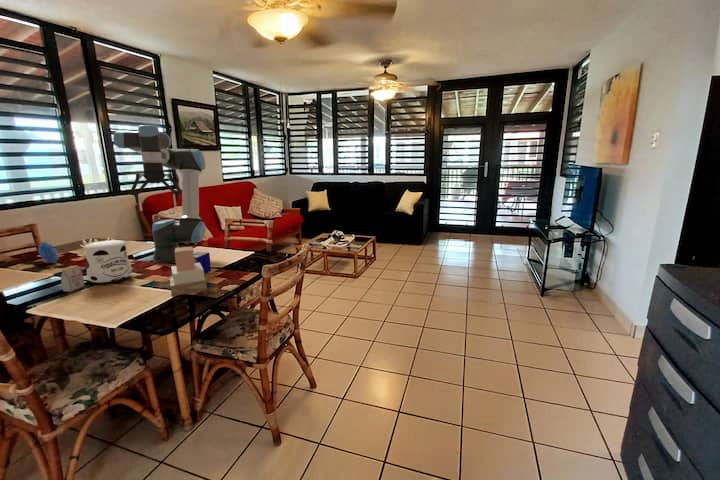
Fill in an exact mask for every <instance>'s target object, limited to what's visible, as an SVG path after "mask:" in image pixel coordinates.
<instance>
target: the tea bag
mask: <svg viewBox="0 0 720 480" xmlns="http://www.w3.org/2000/svg"><path fill="white" fill-rule="evenodd" d="M60 281H61V286H62V287H61V288H62V290H63V291H62V292H66V293H67V292H69V293H70V292H75V291H76V290H79V289H82V288H84V287H85V286H86V285H85V280H84V274H83V272H82V270H81V269H80V268H79V266H78V265H73V266H71V267H68V268H67V267H66V268H65V269H62V272H61V276H60Z"/></svg>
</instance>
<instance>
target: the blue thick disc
mask: <svg viewBox="0 0 720 480" xmlns="http://www.w3.org/2000/svg"><path fill="white" fill-rule="evenodd" d="M53 247H54V245H53V244H51V243H48V242H45V241H43V242H41V243H40V244H39V245H38V253H39V256H40V257H41V259H42V260H45V261H46V263H48V264H56V263H57V262H58V259H59V255H58V254H57V253H58V250H57V249H56V248H53Z"/></svg>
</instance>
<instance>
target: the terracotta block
mask: <svg viewBox="0 0 720 480" xmlns="http://www.w3.org/2000/svg"><path fill="white" fill-rule="evenodd" d="M193 251H194V246H182V247H179V248H175V260H176V262H175V266H176V268H177V272H178V271H187V270H195V262H194V253H193Z"/></svg>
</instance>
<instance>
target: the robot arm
mask: <svg viewBox="0 0 720 480" xmlns="http://www.w3.org/2000/svg"><path fill="white" fill-rule="evenodd" d="M137 129H138V131H130V130H129V131H127V130H121V131H120V130H118V131H115V132H114V133H113V143H114V145H115V146H116V148H119V149H124V150H125V149H128V150H132V151H134V152H136V153H138V154H140V155H141V159H142V162H143V163H142V165H143V167H142V168H143V173H138V172H136V174H135V180H134V182H133V184H132V187H131V189H130V191H129V195H131V196H134V198H135V203H136V204H138V206H139V211H140V212H143V203H142V197H141V195H140V193H142V191H143V190H144V189H145V187H146V186H147V185H148V184H160V183H162V184H163V185H164V186H165V187H166V188H167V189H169V191H170V192H172V193H173V195H172V196H173V205H174V209H175V210H177V202H179V194H182V195H181V198H182V199H181V200H182V201H181V202H182V203H181V206H182V207H181V210H182V211H181V216H180V217H179V219H178V221H176V219H173V218H172V219H170V218H169V219H163V220H159V221H155V222H153V223H152V225H151V228H152V231H151V232H152V236H153V242H154V243H153V244H154V250H153V251H154V252H153V255H152V262H153V264H157V265H158V264H159V265H165V264H166V265H167V264H173V263H176V260H175V248H180V246H179V243H199V242H202V241H203V240H204V237H206V236H205V235H206V229H207V228H206V223H205V222H204V221H202V218H201V217H200V215H199V214H200V197H199V196H200V195H199V193H200V190H199V189H200V185H199V183H200V175H202V174H203V173H202V171H204V170H205V169H206V161H205V157H204V154H203V152H202V151H201V150H200V149H197V148H195V149H194V148H170V147H171V145H172V138H171V136H170V135H168V134H167V133H165V132H162V131H160V130H159V127H158V126H156V125H150V124H148V125H147V124H140V125H139V126H137ZM164 168H167V169H172V170H178V172H179V173H180V174H181V176H182V179H181V181H182V182H181V185H182V186H181V188H180V186H179V185H178V184H177V182H176V181H175V179H174V178H173V174H172V173H171V172H169V173H165V172H164ZM142 177H143V178H144V179H145V181H144V183H142V185H141V186H140V187H139V189H138V190H137V191H136V192H135V190H136V188H137V186H138V183H139V181H140V179H142ZM165 177H167V179H169V180H170V182H171V183H172V184H173V186H174V188H173V187H172V186H171V185H170V184H169V183H167V181H165V180H164V179H165ZM175 189H176V190H177V191H176V190H175Z"/></svg>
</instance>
